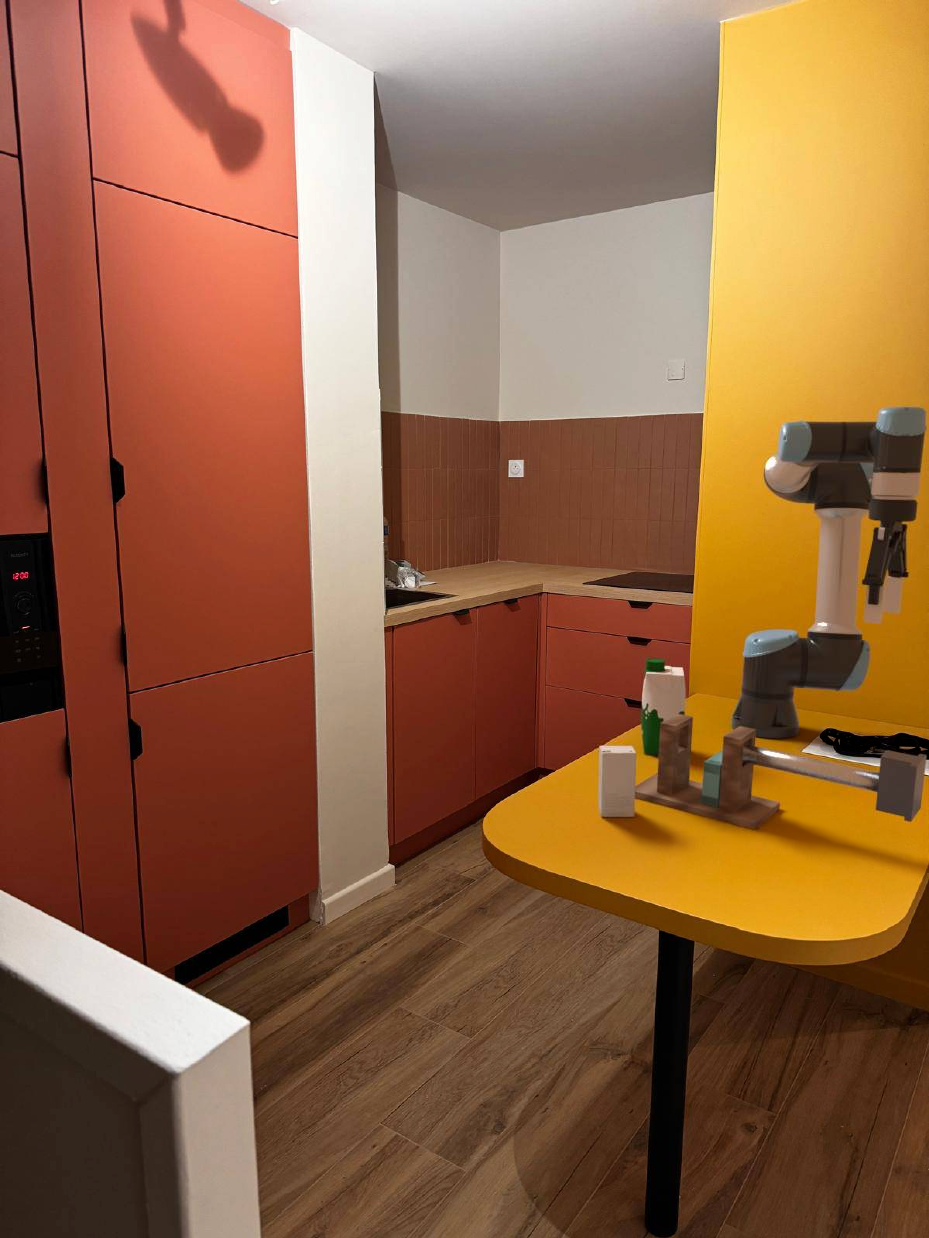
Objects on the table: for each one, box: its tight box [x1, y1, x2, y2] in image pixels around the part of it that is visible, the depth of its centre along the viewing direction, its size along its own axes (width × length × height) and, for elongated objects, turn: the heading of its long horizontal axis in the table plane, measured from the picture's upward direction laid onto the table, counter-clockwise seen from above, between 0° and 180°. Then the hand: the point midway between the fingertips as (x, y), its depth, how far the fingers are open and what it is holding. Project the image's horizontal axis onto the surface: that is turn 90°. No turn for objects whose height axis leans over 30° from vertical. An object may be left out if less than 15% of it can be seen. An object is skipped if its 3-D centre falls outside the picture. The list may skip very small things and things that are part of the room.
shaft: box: [742, 744, 927, 823], centre depth 146 cm, size 30×7×9 cm, turn 52°
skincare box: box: [597, 745, 637, 818], centre depth 154 cm, size 6×4×12 cm
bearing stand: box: [635, 714, 781, 831], centre depth 159 cm, size 24×12×15 cm, turn 52°
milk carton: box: [640, 657, 687, 756], centre depth 187 cm, size 9×9×20 cm
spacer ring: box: [701, 750, 723, 808], centre depth 158 cm, size 3×8×8 cm, turn 142°
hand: (882, 617), depth 156 cm, fingers open, 13 cm apart
